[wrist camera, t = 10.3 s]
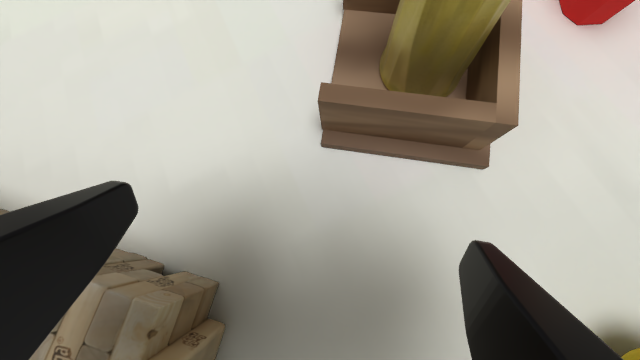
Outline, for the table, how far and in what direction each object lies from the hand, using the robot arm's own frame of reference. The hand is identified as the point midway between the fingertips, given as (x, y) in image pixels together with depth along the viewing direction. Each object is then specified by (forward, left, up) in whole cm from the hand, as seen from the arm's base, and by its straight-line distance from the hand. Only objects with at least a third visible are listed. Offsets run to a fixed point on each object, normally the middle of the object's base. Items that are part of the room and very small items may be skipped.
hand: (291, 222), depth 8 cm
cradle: (+14, -4, -13) cm, 19 cm away
